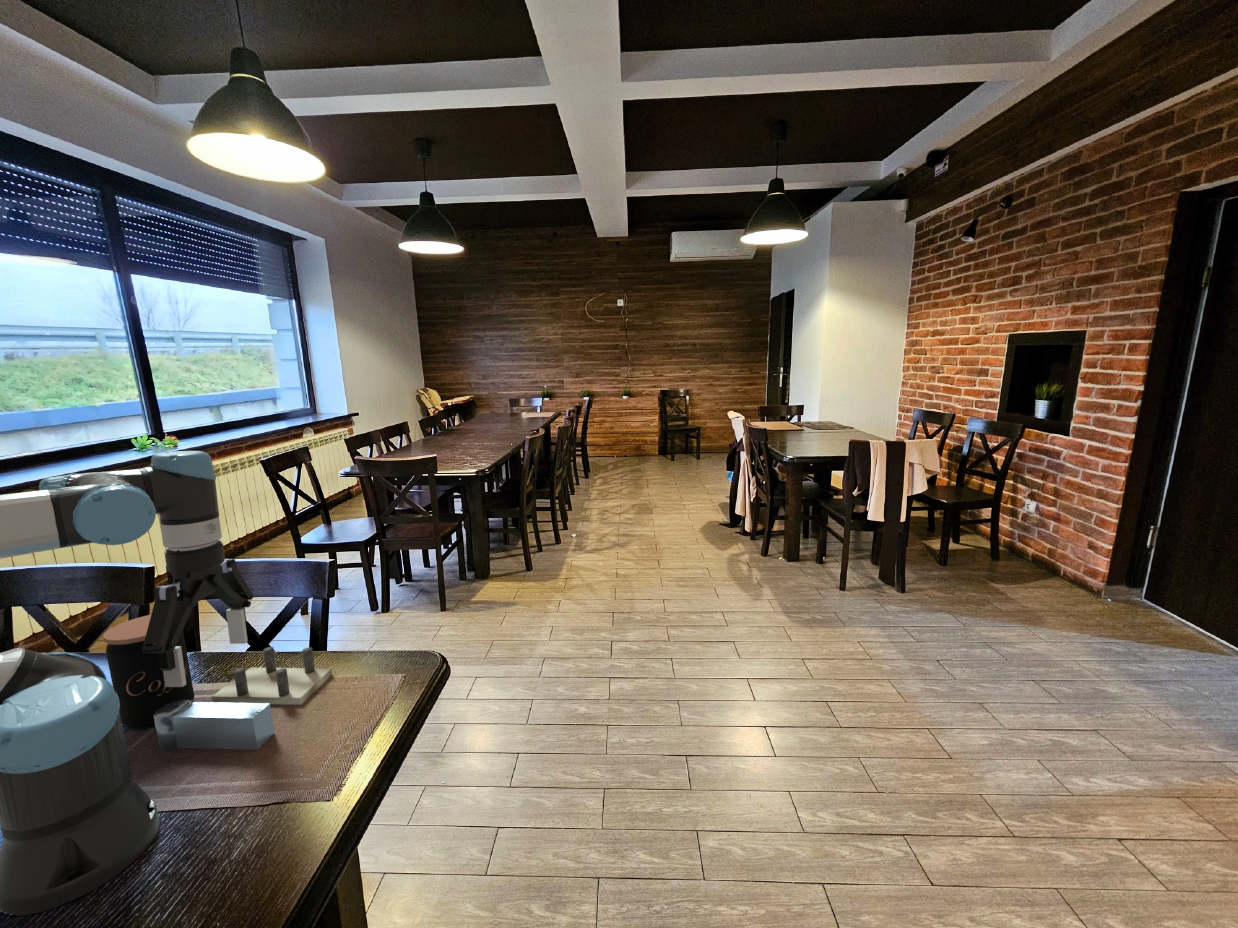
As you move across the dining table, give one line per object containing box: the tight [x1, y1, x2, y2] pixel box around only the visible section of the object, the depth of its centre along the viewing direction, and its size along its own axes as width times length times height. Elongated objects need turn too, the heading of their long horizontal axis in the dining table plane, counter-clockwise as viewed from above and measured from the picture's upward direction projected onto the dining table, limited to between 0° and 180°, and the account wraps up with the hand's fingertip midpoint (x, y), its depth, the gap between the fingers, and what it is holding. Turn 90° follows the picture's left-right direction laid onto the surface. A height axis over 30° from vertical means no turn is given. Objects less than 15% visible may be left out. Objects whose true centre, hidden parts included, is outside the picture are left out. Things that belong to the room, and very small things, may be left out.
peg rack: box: [211, 646, 333, 706], centre depth 103 cm, size 10×18×6 cm, turn 87°
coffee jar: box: [102, 614, 195, 730], centre depth 95 cm, size 11×11×18 cm
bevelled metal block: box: [154, 700, 275, 751], centre depth 88 cm, size 19×5×6 cm, turn 88°
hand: (209, 662), depth 87 cm, fingers open, 13 cm apart
